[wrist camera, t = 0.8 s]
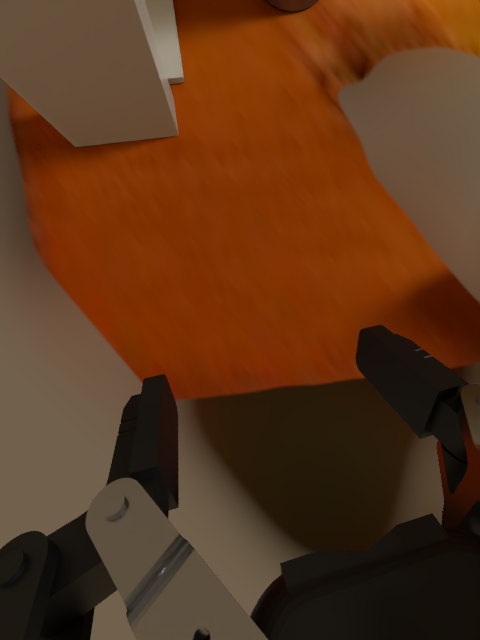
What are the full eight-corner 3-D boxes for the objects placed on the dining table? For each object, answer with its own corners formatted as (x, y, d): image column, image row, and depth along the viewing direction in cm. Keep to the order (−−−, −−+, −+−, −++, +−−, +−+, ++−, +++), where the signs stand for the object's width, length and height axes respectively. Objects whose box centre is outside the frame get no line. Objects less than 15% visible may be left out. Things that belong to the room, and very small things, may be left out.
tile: (67, 107, 30) (-118, -103, 14) (173, 95, 30) (110, -122, 14) (75, 147, 30) (-95, -11, 14) (178, 135, 31) (123, -32, 15)
